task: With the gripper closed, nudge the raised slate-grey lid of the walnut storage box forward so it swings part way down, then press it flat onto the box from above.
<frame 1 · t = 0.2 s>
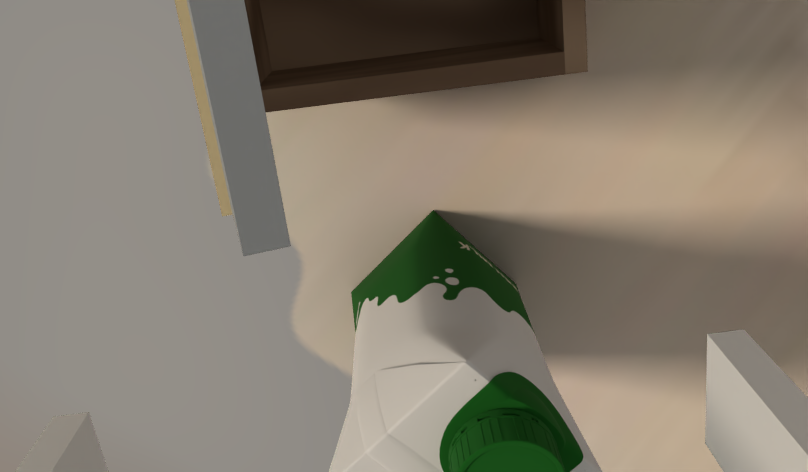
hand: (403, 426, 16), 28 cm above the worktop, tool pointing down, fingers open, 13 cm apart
milk carton: (432, 286, 46), on the worktop
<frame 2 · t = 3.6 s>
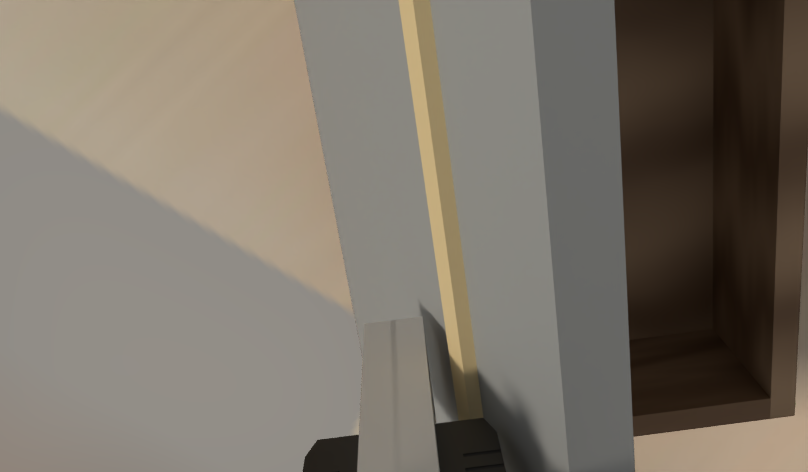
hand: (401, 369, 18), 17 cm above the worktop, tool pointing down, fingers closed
lid: (428, 323, 20), point 15 cm above the worktop, hinge at 72.4°, touching gripper
walnut box: (548, 145, 34), on the worktop
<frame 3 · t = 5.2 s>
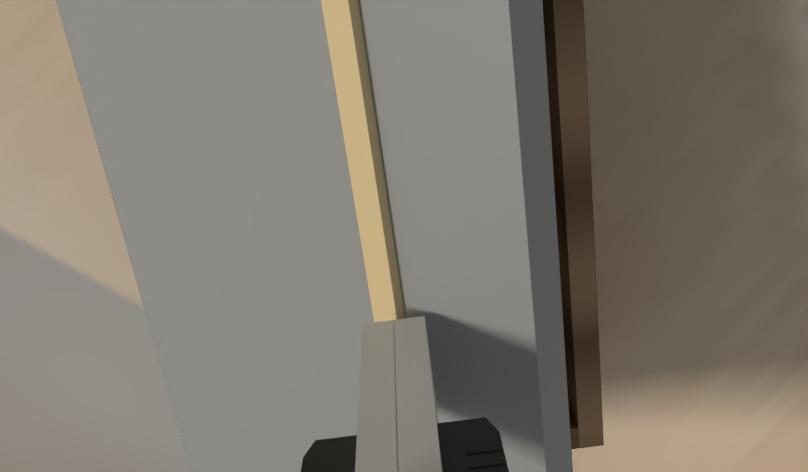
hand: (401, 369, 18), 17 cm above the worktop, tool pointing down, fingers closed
lid: (299, 308, 22), point 13 cm above the worktop, hinge at 40.7°
walnut box: (377, 172, 34), on the worktop
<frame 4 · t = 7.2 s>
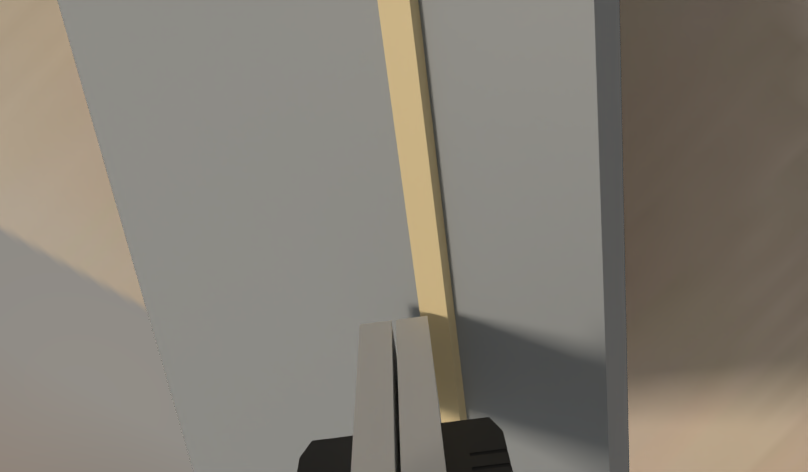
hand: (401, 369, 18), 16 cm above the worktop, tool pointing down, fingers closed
lid: (327, 306, 21), point 13 cm above the worktop, hinge at 37.1°, touching gripper
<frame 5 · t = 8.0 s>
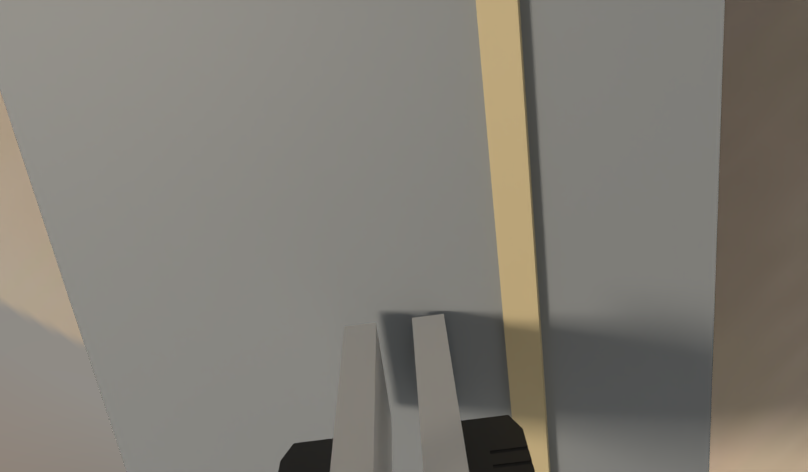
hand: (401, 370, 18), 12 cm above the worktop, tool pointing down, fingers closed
lid: (361, 328, 19), point 10 cm above the worktop, hinge at 17.6°, touching gripper
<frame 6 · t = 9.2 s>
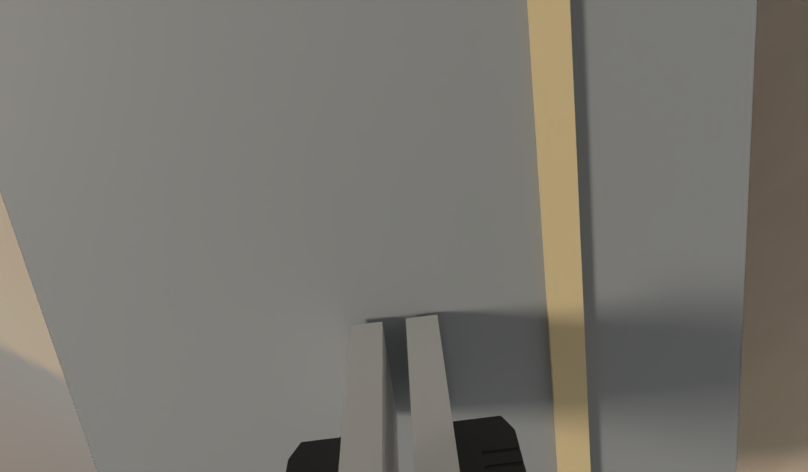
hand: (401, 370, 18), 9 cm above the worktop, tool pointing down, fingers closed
lid: (392, 341, 19), point 9 cm above the worktop, hinge at 4.5°, touching gripper
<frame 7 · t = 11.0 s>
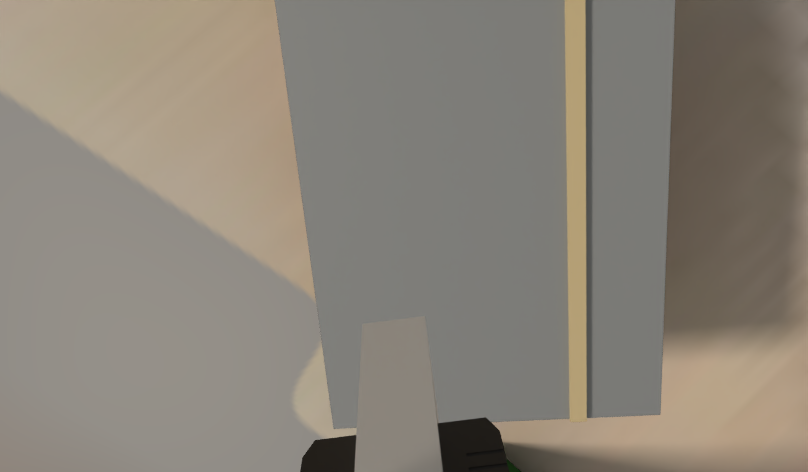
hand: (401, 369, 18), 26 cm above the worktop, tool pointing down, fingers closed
lid: (482, 205, 35), point 9 cm above the worktop, hinge at 4.5°
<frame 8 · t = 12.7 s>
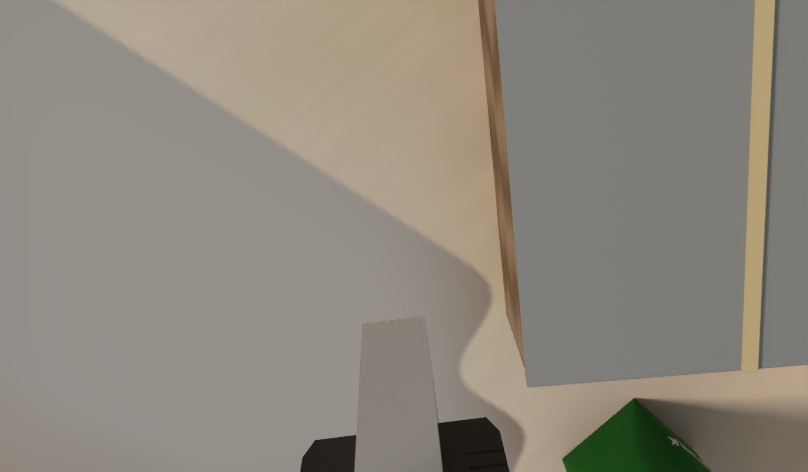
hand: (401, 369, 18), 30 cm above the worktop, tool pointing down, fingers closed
milk carton: (626, 453, 57), on the worktop
lid: (670, 183, 40), point 9 cm above the worktop, hinge at 4.5°
walnut box: (618, 143, 48), on the worktop
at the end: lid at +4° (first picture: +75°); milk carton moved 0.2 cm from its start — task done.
